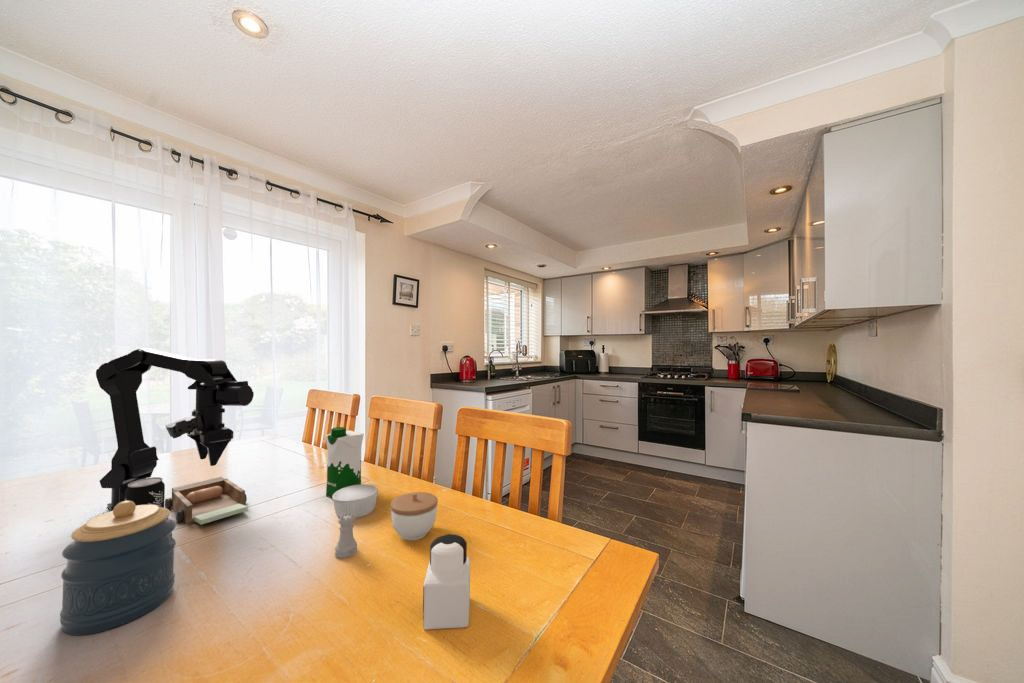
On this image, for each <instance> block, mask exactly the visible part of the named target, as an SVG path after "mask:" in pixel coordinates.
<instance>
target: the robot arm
mask: <svg viewBox="0 0 1024 683" xmlns="http://www.w3.org/2000/svg"><path fill="white" fill-rule="evenodd" d="M152 367H156V368H161V369H166V370H170V371H174V372H178V373H181V374H184V375H185V376H186V377H187V378H188V379H191V380H194V382H193V383H191V384H190V385H189V386H188V387H187V390H195V409H192V411H191V415H189V416H187V417H184V418H181V419H178V420H176V421H173V422H170V423H168V424H166V425H165V428H166V430H167V432H168V434H169V436H170V437H171V438H173V439H178V438H180V437H182V435H185V434H186V436H187V437H189V438H190V439H192V440H194V443H195V446H196V448H197V452H198V455H199V459H200V460H206V458H207V456H208V460H209V466H210V467H214V466H216V465H217V464H218V462H219V460H220V458H221V457H222V454H223V453H224V451H225V450H226V448H227V446H228V445H229V443H230V442H231V441H232V439H234V430H232V429H230V428H229V427H226V426H225V423H224V422H223V413H225V412H226V409H225V408H223V406H225V407H226V406H227V407H230V406H231V407H232V406H233V407H234V406H235V407H237V406H238V407H246V406H248V405H250V404H251V403H252V401H253V399H254V393H255V392H254V391H253V389H252V386H250V385H249V381H248V380H240V381H238V380H237V379H236V378H235V376H234V375H233V373H232V371H231V370H230V369H229V368H228V365H227V362H226V361H225V360H222V359H203V358H202V359H201V358H200V359H198V358H191V357H186V356H182V355H179V354H173V353H169V352H164V351H160V350H158V349H155V348H137V349H135V350H132V351H131V352H129V353H127V354H125V355H123V356H120V357H117V358H114V359H112V360H109V361H108V362H105V363H102V364H101V365H100V366H99V367H98V368H97V369H96V371H95V377H96V379H97V382H98V385H99V388H100V389H101V390H103V391H104V392H105V394H107V395H108V396H109V398H110V404H111V405H110V406H111V412H112V417H113V418H112V420H113V423H114V430H115V431H114V432H115V437H116V443H117V449H116V451H115V453H114V455H113V457H112V458H111V469H110V470H109V471H108V472H107V473H106V474H105V475H104V476H102V478H101V479H100V480H99V484H100V487H101V488H102V489H111V497H110V498H111V499H110V500H111V501H110V503H107V504H106V505H107V508H108V509H109V512H110V511H113V509H114V507H115V506H116V505H117V504H118V503H120V502H123V501H125V491H126V489H127V488H128V484H129V483H131V482H134V481H137V480H141V479H145V478H152V475H153V472H154V470H155V468H156V467H157V465H158V461H159V460H160V458H159V457H158V455H157V454H158V453H157V447H156V446H149V445H148V444H147V443H146V442H145V439H144V434H143V433H144V432H143V426H142V420H141V414H140V406H139V402H138V401H139V400H138V397H137V396H138V395H137V392H138V389H140V386H141V384H142V383H143V375H144V374H146V373H147V372H149V371H150V370H151V369H152Z"/></svg>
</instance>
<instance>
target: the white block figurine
mask: <svg viewBox="0 0 1024 683" xmlns="http://www.w3.org/2000/svg"><path fill="white" fill-rule="evenodd" d="M467 546H468V545H467V540H466V539H465V538H464V537H463V536H461V535H459V534H454V533H453V534H452V533H451V534H450V533H448V534H442V535H440V536H438V537H436V538H434V539H433V540H432V542H431V543H430V546H429V562H428V566H427V570H426V574H425V579H424V581H423V588H422V589H423V590H422V594H423V595H422V599H423V600H422V629H423V630H424V631H425V630H427V631H428V630H442V629H444V630H445V629H460V628H461V629H462V628H463V629H464V628H467V627H468V626H469V625H470V624H469V623H470V620H469V619H470V603H471V602H470V601H471V600H470V599H471V558H470V557H469V556H468V557H467V554H468V553H467V551H468V550H467V549H468V548H467Z"/></svg>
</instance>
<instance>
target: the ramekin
mask: <svg viewBox="0 0 1024 683" xmlns="http://www.w3.org/2000/svg"><path fill="white" fill-rule="evenodd" d="M378 494H379V488H378V487H377V486H375V485H373V484H367V483H364V484H362V483H361V484H360V485H353V486H348V487H345V488H342V489H340V490H338V491H336V492H335V493H334V494H333V496H332V498H331V499H332V502H333V505H334V511H335V514H336V516H337V517H339V518H340V517H341V515H343V516H344V514H345V513H347V515H349V513H351V514H353V517H354V518H355V519H358V518H361V517H365V516H367V515H369V514H371V513H372V511H373V510H374V509H375V507H376V502H377V496H378Z"/></svg>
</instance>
